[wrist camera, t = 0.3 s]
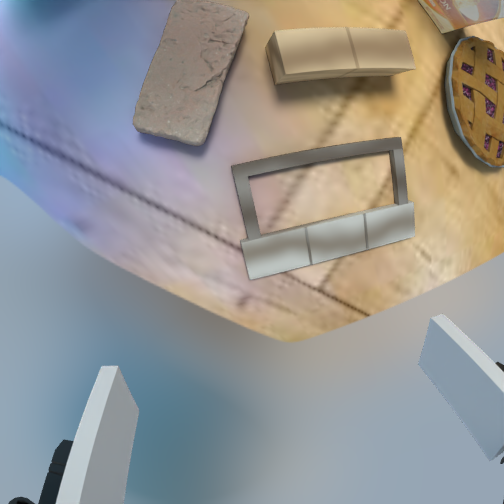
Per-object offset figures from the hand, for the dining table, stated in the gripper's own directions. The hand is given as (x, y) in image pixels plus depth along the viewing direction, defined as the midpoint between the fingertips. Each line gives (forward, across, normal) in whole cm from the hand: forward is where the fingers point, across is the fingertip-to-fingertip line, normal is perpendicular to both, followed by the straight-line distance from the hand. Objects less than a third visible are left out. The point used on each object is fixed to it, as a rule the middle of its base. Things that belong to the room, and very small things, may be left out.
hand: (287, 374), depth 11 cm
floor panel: (+27, +12, 0) cm, 29 cm away
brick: (+28, -4, +17) cm, 33 cm away
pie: (+27, +41, +16) cm, 52 cm away
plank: (+27, +13, +19) cm, 35 cm away
